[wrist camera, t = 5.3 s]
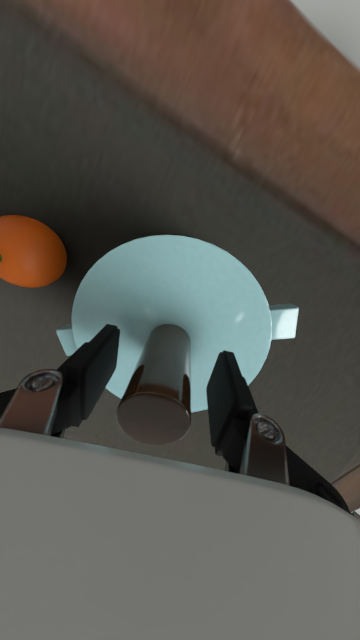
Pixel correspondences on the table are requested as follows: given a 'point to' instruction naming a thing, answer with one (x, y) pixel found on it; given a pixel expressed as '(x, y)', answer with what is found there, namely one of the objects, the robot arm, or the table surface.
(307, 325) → the table surface
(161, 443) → the pot lid
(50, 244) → the orange
